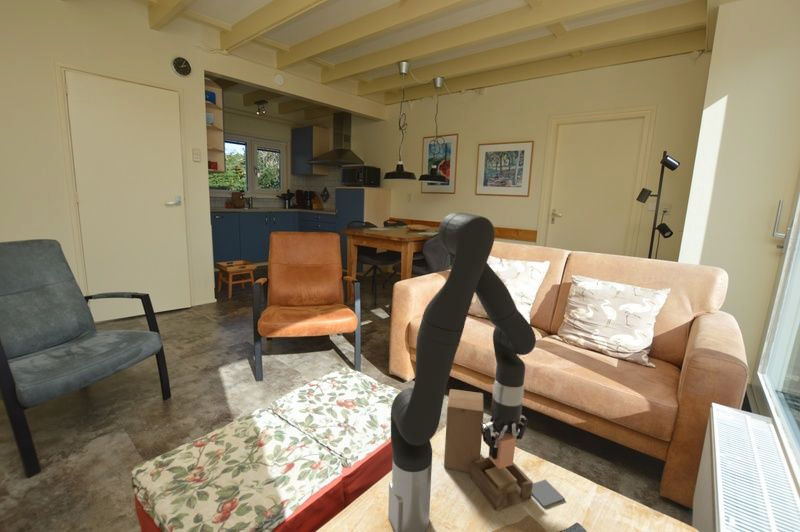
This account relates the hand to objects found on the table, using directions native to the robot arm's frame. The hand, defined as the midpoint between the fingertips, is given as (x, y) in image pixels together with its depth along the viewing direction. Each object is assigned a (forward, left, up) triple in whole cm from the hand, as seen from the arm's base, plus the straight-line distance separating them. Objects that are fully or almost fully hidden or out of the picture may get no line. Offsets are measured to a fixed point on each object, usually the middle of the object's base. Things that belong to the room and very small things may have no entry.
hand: (501, 455), depth 101 cm
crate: (0, 0, -10) cm, 10 cm away
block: (0, 0, -2) cm, 2 cm away
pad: (+10, -6, -10) cm, 16 cm away
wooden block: (-4, +13, -10) cm, 17 cm away
